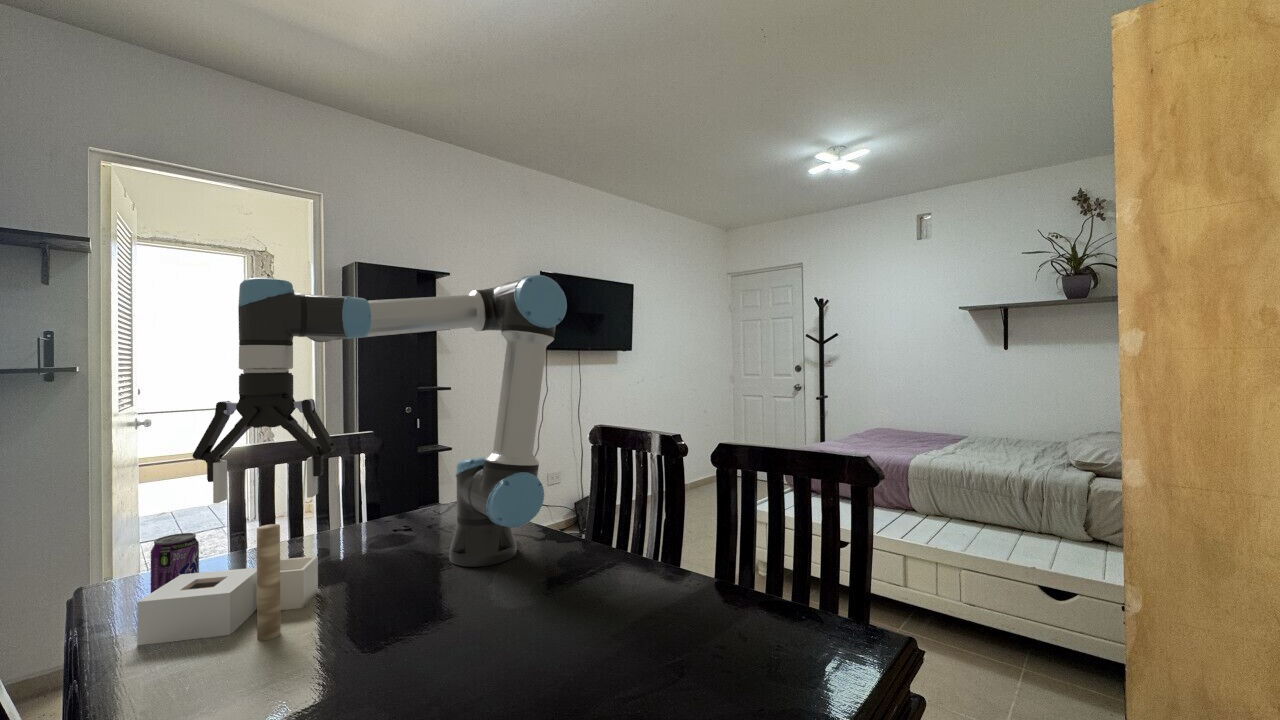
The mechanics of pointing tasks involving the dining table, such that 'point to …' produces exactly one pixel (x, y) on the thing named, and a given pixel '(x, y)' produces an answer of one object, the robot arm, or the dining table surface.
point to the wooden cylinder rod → (268, 582)
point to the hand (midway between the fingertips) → (267, 498)
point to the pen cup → (298, 581)
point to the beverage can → (173, 558)
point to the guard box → (197, 606)
